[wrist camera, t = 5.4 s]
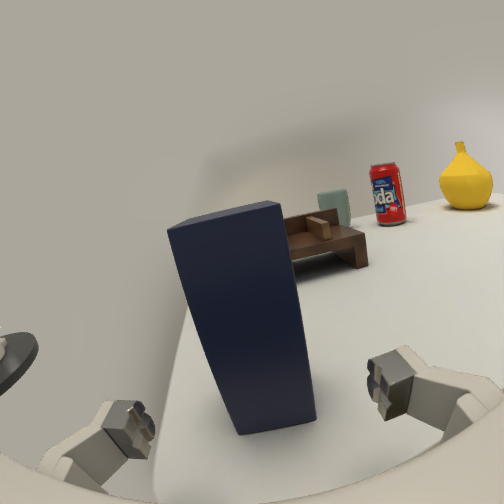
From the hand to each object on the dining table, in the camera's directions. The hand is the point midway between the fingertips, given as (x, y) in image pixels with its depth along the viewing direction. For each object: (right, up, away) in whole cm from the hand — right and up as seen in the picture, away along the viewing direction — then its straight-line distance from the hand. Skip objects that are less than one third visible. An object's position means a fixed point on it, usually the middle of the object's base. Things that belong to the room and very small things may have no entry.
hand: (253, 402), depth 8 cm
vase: (+63, +18, +51) cm, 83 cm away
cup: (+22, +10, +59) cm, 64 cm away
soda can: (+35, +12, +53) cm, 65 cm away
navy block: (+1, -5, +8) cm, 10 cm away
